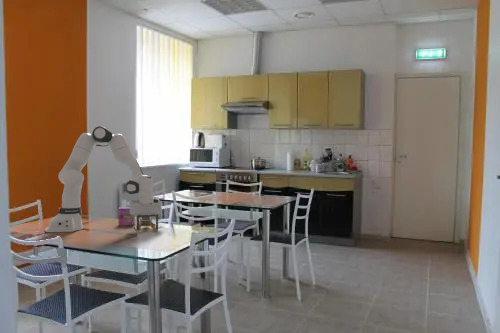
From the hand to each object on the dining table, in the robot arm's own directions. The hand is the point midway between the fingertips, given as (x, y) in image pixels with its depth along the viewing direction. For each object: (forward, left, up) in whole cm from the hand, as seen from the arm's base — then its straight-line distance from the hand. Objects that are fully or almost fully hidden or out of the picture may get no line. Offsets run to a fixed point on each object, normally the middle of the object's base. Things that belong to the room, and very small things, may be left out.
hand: (145, 221), depth 283 cm
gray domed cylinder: (0, 0, -2) cm, 2 cm away
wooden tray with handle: (0, 0, -5) cm, 5 cm away
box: (-10, +20, -6) cm, 23 cm away
